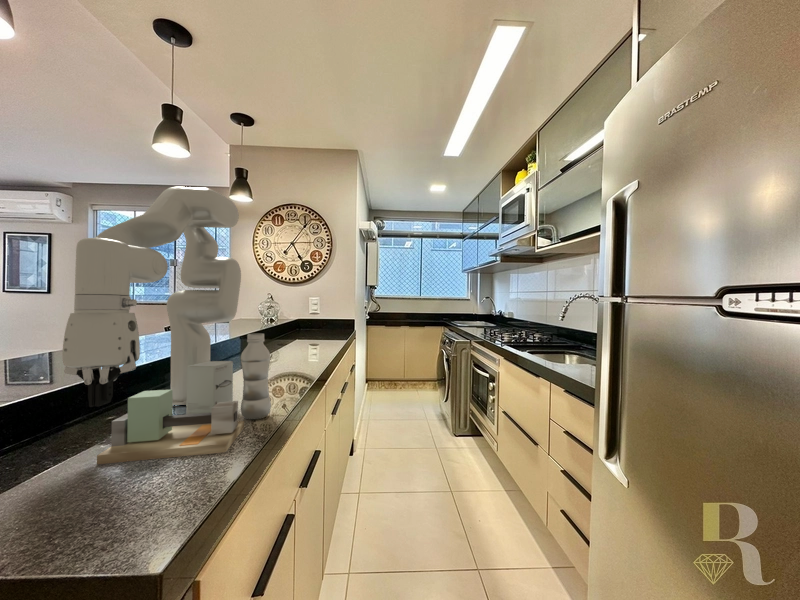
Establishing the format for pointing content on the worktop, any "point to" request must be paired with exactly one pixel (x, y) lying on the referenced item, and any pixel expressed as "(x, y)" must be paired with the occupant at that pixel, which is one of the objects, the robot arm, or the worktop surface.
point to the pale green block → (148, 415)
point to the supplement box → (208, 385)
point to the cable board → (178, 436)
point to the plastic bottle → (255, 378)
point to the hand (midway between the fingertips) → (100, 404)
